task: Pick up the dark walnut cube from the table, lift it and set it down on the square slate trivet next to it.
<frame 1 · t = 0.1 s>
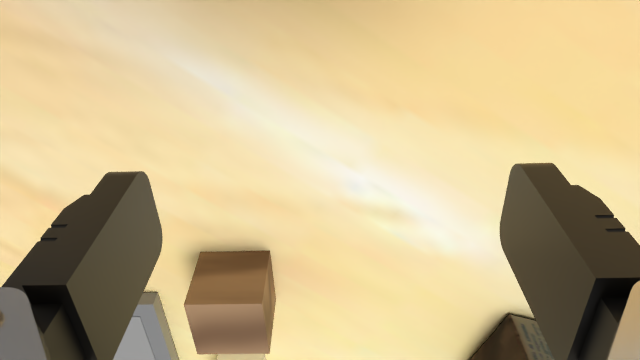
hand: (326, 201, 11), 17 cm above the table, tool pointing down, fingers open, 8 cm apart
slate trivet: (98, 347, 41), on the table
walnut block: (239, 275, 36), on the table
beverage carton: (580, 358, 42), on the table
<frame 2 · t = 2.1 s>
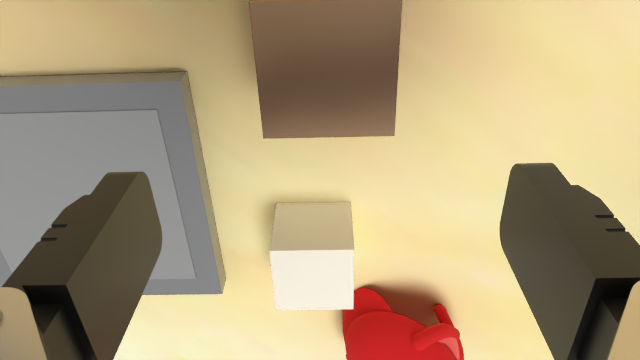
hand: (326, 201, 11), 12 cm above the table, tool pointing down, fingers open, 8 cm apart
slate trivet: (88, 191, 26), on the table
walnut block: (327, 33, 21), on the table
cream block: (314, 230, 27), on the table
red rounded lumpy piece: (397, 314, 31), on the table
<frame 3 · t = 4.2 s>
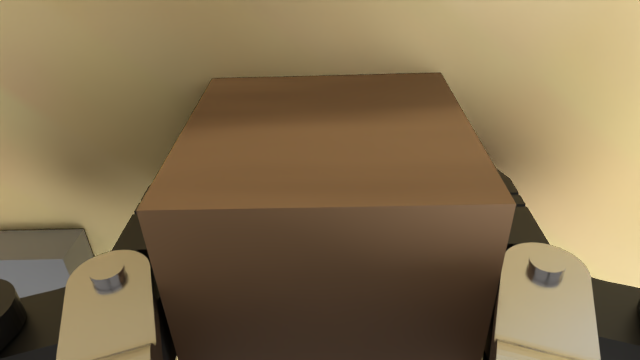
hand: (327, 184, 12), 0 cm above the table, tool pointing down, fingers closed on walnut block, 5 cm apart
walnut block: (328, 173, 12), on the table, touching gripper
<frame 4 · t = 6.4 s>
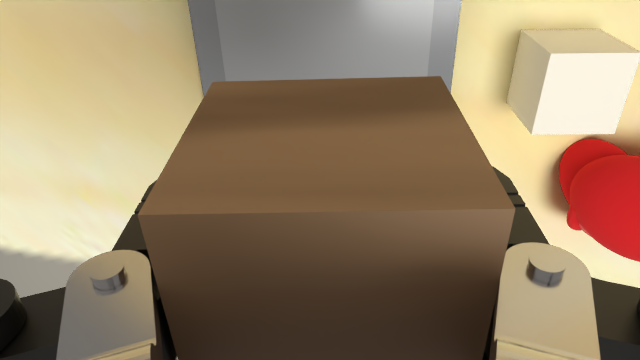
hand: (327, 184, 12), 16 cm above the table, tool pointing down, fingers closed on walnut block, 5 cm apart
slate trivet: (324, 15, 25), on the table
walnut block: (328, 176, 12), point 15 cm above the table, touching gripper
cream block: (550, 66, 26), on the table
red rounded lumpy piece: (607, 175, 30), on the table
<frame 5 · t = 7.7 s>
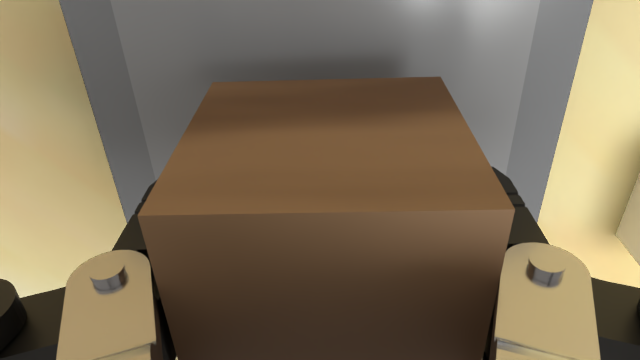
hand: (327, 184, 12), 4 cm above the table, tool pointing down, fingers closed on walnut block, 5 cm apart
slate trivet: (327, 112, 15), on the table
walnut block: (328, 176, 12), point 3 cm above the table, touching gripper
when the fingers open (3 cm above the table, at t = 8.7 s): walnut block drops 1 cm, resting on slate trivet.
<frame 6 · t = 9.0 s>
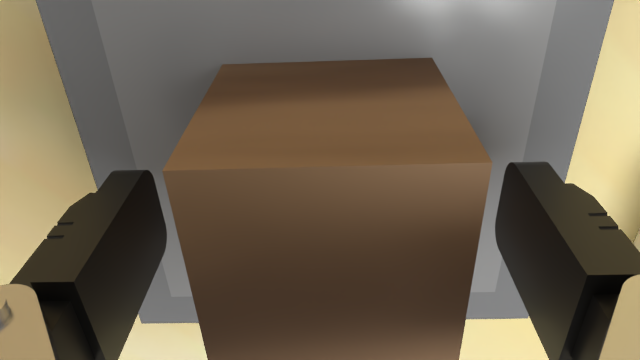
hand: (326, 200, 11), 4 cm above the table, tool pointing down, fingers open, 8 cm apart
slate trivet: (327, 130, 14), on the table
walnut block: (329, 153, 13), point 1 cm above the table, touching slate trivet
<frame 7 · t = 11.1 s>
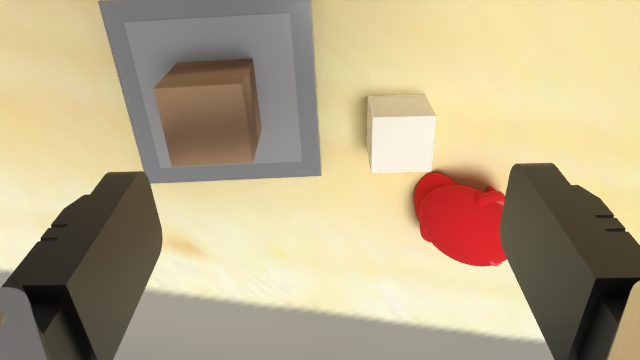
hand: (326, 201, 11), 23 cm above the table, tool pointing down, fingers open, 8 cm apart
slate trivet: (223, 90, 34), on the table
walnut block: (220, 97, 33), point 1 cm above the table, touching slate trivet
cream block: (394, 121, 35), on the table
red rounded lumpy piece: (456, 199, 39), on the table
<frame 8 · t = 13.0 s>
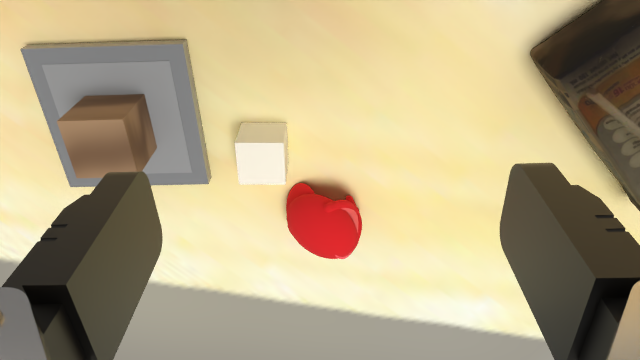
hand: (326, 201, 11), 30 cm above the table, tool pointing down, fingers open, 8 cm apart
slate trivet: (126, 115, 43), on the table
walnut block: (122, 122, 42), point 1 cm above the table, touching slate trivet
cream block: (265, 142, 44), on the table
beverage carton: (619, 102, 42), on the table
red rounded lumpy piece: (323, 204, 48), on the table
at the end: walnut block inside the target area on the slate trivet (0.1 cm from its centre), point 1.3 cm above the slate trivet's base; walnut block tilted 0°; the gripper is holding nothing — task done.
